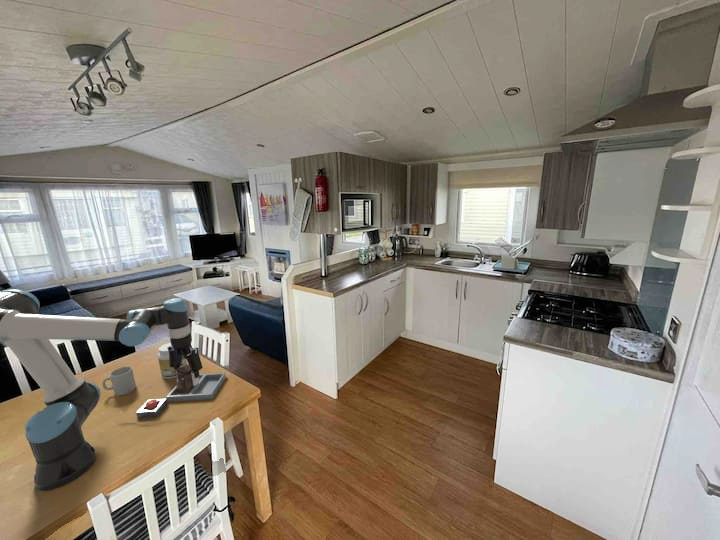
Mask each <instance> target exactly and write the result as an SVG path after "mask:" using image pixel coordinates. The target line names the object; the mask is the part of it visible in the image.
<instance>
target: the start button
mask: <svg viewBox="0 0 720 540" xmlns="http://www.w3.org/2000/svg"><path fill="white" fill-rule="evenodd" d="M149 400H150V401H148V400H147V401H148V402H147V401H146V402H147V403H146V402H145V403H146V408H147V409H155V407H156V406H157V405H158V404H157V400H155V398H154V400H151V399H149Z"/></svg>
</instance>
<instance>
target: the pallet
mask: <svg viewBox="0 0 720 540" xmlns="http://www.w3.org/2000/svg"><path fill="white" fill-rule="evenodd" d="M199 375H200V376H199V380H200V382H199V383H198V384H197V385H195V386H194V388H193V389H192V390H191V391H190V393H179V394H178V389H177V384H176V385H175V386H174V387H173V388H172V389H171V391H170V392H169V393H168V394H167V395H166V396H165V399H167V403H168V402H182V401H185V402H186V401H199V400H200V401H201V400H204V401H205V400H213V399H214V398H215V396H216V394H217V393H218V391H219V390H220V388H221V386H222V385H223V383H224V382H225V380H226V379H227V373H226V372H219V373H217V372H216V373H199Z"/></svg>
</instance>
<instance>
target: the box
mask: <svg viewBox="0 0 720 540" xmlns="http://www.w3.org/2000/svg"><path fill="white" fill-rule="evenodd" d="M176 372H177V377H178V383H179V385H180V386H182V387H183V388H185V389H186V388H188V387H190V386H192V385H193V380H192V375H191V372H192V369H191V367H190V365H189V363H187V365H185V366H183V367H181V368H179V369H177V370H176ZM177 377H176V378H177Z"/></svg>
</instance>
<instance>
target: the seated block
mask: <svg viewBox="0 0 720 540" xmlns="http://www.w3.org/2000/svg"><path fill="white" fill-rule="evenodd" d="M175 382H176V383H175V384H176V385H177V389H178V394H179V393H190V391H191V390H192V389H193V388H194V386H193V385H192V386H190V387H188V388H186V389H185V388H183V387H182V386H180V385H179V383H178V380H177V379H176V381H175Z"/></svg>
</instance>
